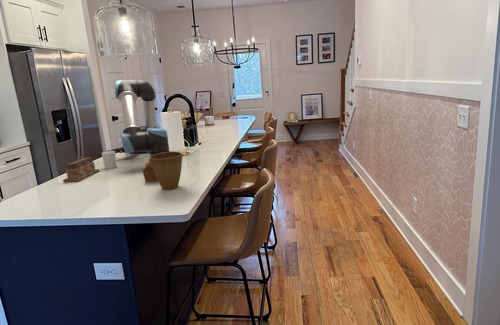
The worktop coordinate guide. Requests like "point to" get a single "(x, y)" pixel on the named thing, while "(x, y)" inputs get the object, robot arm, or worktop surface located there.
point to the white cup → (109, 159)
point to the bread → (149, 173)
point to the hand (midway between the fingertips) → (116, 154)
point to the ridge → (80, 170)
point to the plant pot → (167, 168)
